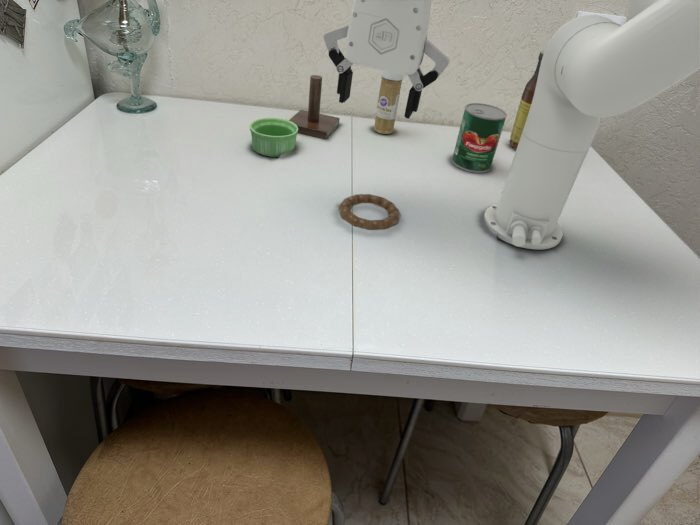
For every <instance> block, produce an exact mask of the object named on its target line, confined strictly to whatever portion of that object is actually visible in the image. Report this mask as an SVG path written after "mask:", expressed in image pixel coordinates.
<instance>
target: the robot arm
mask: <svg viewBox="0 0 700 525" xmlns="http://www.w3.org/2000/svg"><path fill="white" fill-rule="evenodd" d="M431 6H432V0H353V3H352V7H351V13H350V18H349V22H348V25H344V26H343V27H340V28H337V29H334V30H331V31H329V32H326V33H325V34H323V40H324V41H323V42H324V43H325V47H326V50H327V51H328V57H329V59H330V60H331V62H332V63H333V65H334V67H335V68H336V72H337V73H338V79H337V85H336V87H337V89H336V94H337V95H339V98H338V102H339V103H341V104H344V103H345V102H346V101H347V100H348V99H350V96H351V89H352V83H353V76H354V71H353V69H352V66H353V65H357V66H360V67H364V68H370V69H374V70H379V71H381V72H382V71H387V72H391V73H396V74H401V75H404V76H408V79H410V80H409V81H410V82H411V85H412V86H411V87H410V89H409V90H408V97H407V100H406V106H405V110H404V116H403V117H404V119H407V120H409V119H410V118H411V116H412V115H413V113H417V112H418V110H419V105H420V101H421V96H422V92H423V90H424V89H425V88H427V87H428V86H429V85H431V84H432V83H434V82H436V80H437V79H439V77H440V76H441V74H442V73H443V72H444V71H445V70H446V69H447V67H448V66H449V64H450V61H451V60H450V58H449V57H448V56H447V55H446V54H445V53H443V52H442V51H441V50H440V49H439V48H438V47H437V46H435V45H434V44H433V43H432V42H431V41H430V40H429V39H428V32H429V26H430V17H431ZM627 15H628V18H629V20H627V21H626V22H624V23H623V24H622V25H621V24H619V23H618V22H616V21H615V20H612V19H611V18H608V17H606V16H602V15H598V14H584V15H580V16H577V17H574V18H572V19H570V20H568V21H567V22H565V23H563V24H562V25H561V26H560V27H559V28H558V29H557V30H556V31H555V32H554V33H553V35H552V36H551V37H550V39H549V41H548V43H547V44H546V47H545V49H544V50H543V51H544V54H543V57H542V61H541V65H540V69H539V74H538V79H537V84H536V88H535V93H534V97H533V100H532V104H531V107H530V110H529V114H528V117H527V120H526V123H525V126H524V129H523V132H522V135H521V137H520V140H519V143H518V146H517V149H515V153H514V155H513V158H512V161H511V164H510V167H509V170H508V173H507V176H506V179H505V182H504V186H503V188H502V191H501V194H500V197H499V200H498V203H493V204H492V205H490V206H488V207H487V208H486V210H485V211H484V216H483V217H484V221H485V223H486V225H487V226H488V227H489V228H490V229H491V230H492V231H493V232H495V233H496V237H497V238H498V239H499V240H501V241H502V242H505V243H507V244H510V245H512V246H515V247H517V248H522V249H526V250H534V251H535V250H548V249H552V248H555V247H556V246H557V245H558V246H559V244H560V242H561V240H562V238H563V236H564V230H563V228H562V226H561V225H560V223H559V219H560V217H561V215H562V213H563V210H564V208H565V206H566V203H567V201H568V198H569V196H570V194H571V191H572V190H573V187H574V186H575V182H576V180H577V178H578V176H579V173H580V171H581V168H582V166H583V163H584V162H585V159H586V157H587V154H588V152H589V150H590V148H591V147H592V146H591V145H592V143H593V141H594V139H595V136H596V134H597V131H598V128H599V125H600V122H601V119H605V118H606V119H607V118H611V117H612V118H613V117H616V116H620V115H622V114H625V113H627V112H630V111H631V110H634V109H636V108H638V107H640V106H641V105H643V104H645V103H646V102H648V101H650V100H651V99H653V98H655V97H656V96H658V95H660V94H661V93H663V92H664V91H666V90H668V89H669V88H671V87H673V86H675V85H676V84H678V83H679V82H681V81H683V80H685V79H686V78H688V77H690V76H691V75H694V73H696V72H697V71H699V70H700V0H628V2H627ZM345 38H346V40H345V45H344V46H345V47H344V54H343V52H342V51H341V50H340V48H339V46H338V41H339V40H342V39H345ZM425 55H426V56H427V57H428V58H429V59H431V60H432V61H433V62H434V64H435V65H434V66H433V68H432V69H431V70H429V71H428V72H427V73H425V74H424V73H423V71H422V68H421V65H422V63H423V60H424V56H425Z"/></svg>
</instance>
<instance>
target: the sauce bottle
mask: <svg viewBox="0 0 700 525" xmlns="http://www.w3.org/2000/svg"><path fill="white" fill-rule="evenodd" d="M544 51H545V50H540V52H539V55H538V57H537V59H538V60H537V65H536V68H535V70H534V73H533V74H532V76H531V78H530V79H529V80H528V81H527V82H526V83H525V86H524V88H523V92H522V95H521V97H520V102H519V104H518V107H517V108H518V109H517V112H516V115H515V119H514V122H513V126H512V130H511V132H510V133H511V134H510V137H509V138H510V140H509V145H510V147H511V148H512V149H515V150H516V149H517V146H518V143H519V140H520V137H521V135H522V132H523V129H524V126H525V123H526V120H527V117H528V114H529V110H530V107H531V104H532V100H533V97H534V93H535V88H536V84H537V79H538V74H539V69H540V65H541V61H542V57H543V54H544Z"/></svg>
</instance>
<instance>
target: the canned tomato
mask: <svg viewBox="0 0 700 525" xmlns="http://www.w3.org/2000/svg"><path fill="white" fill-rule="evenodd" d="M507 116H508V114H507V112H506V111H505V110H504V109H502V108H500V107H497V106H494V105H492V104H487V103H480V102H471V103H468V104H466V105H465V106H464V110H463V115H462V120H461V123H460V126H459V131H458V134H457V138H456V142H455V146H454V150H453V154H452V157H451V162H452V164H453V165H454V166H455V167H457V168H458V169H460V170H463V171H465V172H468V173H474V174H484V173H488V172H489V171H490V170H491V169H492V164H493V162H494V158H495V155H496V152H497V150H498V149H497V148H498V145H499V142H500V138H501V136H502V132H503V130H504V126H505V122H506V119H507Z"/></svg>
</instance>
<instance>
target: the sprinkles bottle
mask: <svg viewBox="0 0 700 525" xmlns="http://www.w3.org/2000/svg"><path fill="white" fill-rule="evenodd" d="M380 77H381V80H380V86H379V92H378V99H377V102H376V103H377V104H376V108H375V109H376V110H375V119H374V125H373V130H374V132H376V133H377V134H380V135H392V134H393V133H394V132H395V123H396V118H397V113H398V107H399V102H400V96H401V94H400V93H401V90H402V84H403V80H404V78H405V75H401V74H396V73H391V72H387V71H382V70H381V73H380Z"/></svg>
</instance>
